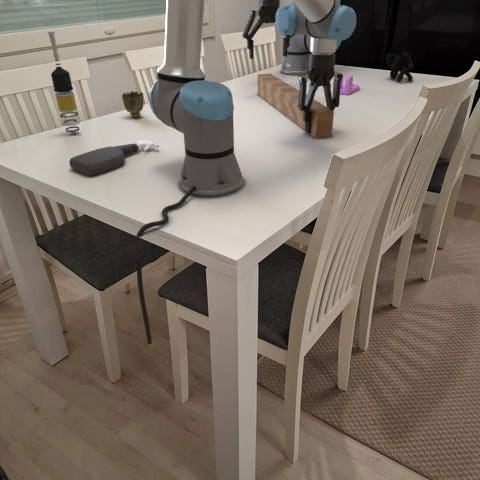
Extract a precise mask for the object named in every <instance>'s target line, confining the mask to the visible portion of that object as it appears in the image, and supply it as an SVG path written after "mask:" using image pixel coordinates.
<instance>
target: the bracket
mask: <svg viewBox="0 0 480 480" xmlns="http://www.w3.org/2000/svg"><path fill="white" fill-rule="evenodd" d="M344 78H345V77H344V76H343V77H342V80H341V85H340V95H346V96H348V95H350V94H352V93H354V92H356V91H358V90H359V89H360V85H359V84H358V83H354V76H353V75H350V74H349V75H346V78H345V84H344Z"/></svg>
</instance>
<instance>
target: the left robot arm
mask: <svg viewBox="0 0 480 480" xmlns="http://www.w3.org/2000/svg"><path fill="white" fill-rule="evenodd" d="M205 1H206V0H166V3H165V27H164V31H165V32H164V53H163V54H164V56H163V64H162V65H161V66H160V67H159V68H157V70H156V71H157V72H156V80H155V82H154V83H153V84H152V86H151V88H150V90H149V95H148V102H149V107H150V110H151V111H152V113H153V115H154V116H155V117H156V118H157V119H158V120H159V121H161V123H162V124H164V125H165V126H167V127H170V128H172V129H174V130H176V131H177V132H180V133H181V134H183V143H184V154H185V155H184V158H183V164H182V168H181V171H180V177H179V178H180V179H179V183H180V184H179V185H180V188H181V189H182V191H184V192H186V193H184V195H183V196H182V197H181V199H180V200H179V201H178V202H176V203H173V204H170V205H167V206H165V207H163V209H161V215H162V217H163V219H161V220H157V221H156V220H155V221H152V222H148V223H145V224H143V225H142V226H141V227H140V229H139V230H138V231H137V233H136V238H140V237H142V236H143V234H144V233H145V231H147V230H148V229H150V228H155V227H159V226H163V225H165V224H166V223H168V222H169V215H168V211H171V210H175V209H177V208H179V207H181V206H182V205H184V203H185V202H186V201H187V199H189V197H190V196H191V195H194V196H199V197H221V196H224V195H229V194H232V193H234V192H235V191H237V190H239V189H240V188H241V187H242V185H243V174H242V171H241V168H240V165H239V163H238V160H237V157H236V154H235V132H234V131H235V130H234V127H235V126H234V110H235V106H234V100H233V98H234V97H233V94H232V91H231V89H230V88H229V87H227V85H225V84H223V83H221V82H218V81H211V80H206V74H205V72H204V71H203V70H202V69H201V53H202V41H203V28H204V13H205ZM291 1H292V2H289V3H284V4H280V7H279V8H278V10H277V13H276V23H275V27H276V29H277V31H278V33H280V34H281V35H283V36H285V35H293V34H301V35H307V36H311V39H310V55H309V70H308V72H307V74H306V75H298V82H299V86H298V87H299V88H298V90H299V99H298V109H300V110H301V111H303V112H304V113H303V121H304V122H305V130H304V132H306V133H307V134H309V133H311V119H312V112H311V111H310V108H311V105H312V102H313V99H314V100H315V96H316V92H317V91H318V88H319V87H320V88H321V87H322V88H323V93H324V99H325V104H326V105H325V106H326V107H328V108H330V109H331V110H333V111H335V109H336V108H338V107H340V100H341V99H340V98H341V94H340V85H341V80H342V77H344V74H342V73H341V72H336V70H335V65H336V54H335V53H336V51H337V50H336V44H337V40H342V41H345V40H348V39H349V38H350V37H351V36H352V34H353V33H354V31H355V29H356V26H357V15H356V12H355V10H354V9H353V8H352V7H350V6H346V5H345V4H342V5H341V0H291ZM332 79H333V81H332ZM308 81H309V82H310V83H309V86H308V87H307V83H308ZM331 81H332V82H333V83H332V85H331ZM307 88H308V91H307ZM331 88H332V89H331ZM306 95H307V97H306ZM305 99H306V101H305ZM142 269H143V267H142V261H141V260H136V279H137V289H138V295H139V302H140V308H141V313H142V319H143V324H144V329H145V335H146V340H147V341H146V342H147V345H151V344H153V341H152V334H151V328H150V327H151V326H150V322H149V316H148V310H147V305H146V298H145V292H144V283H143V271H142Z"/></svg>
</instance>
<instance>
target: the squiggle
mask: <svg viewBox="0 0 480 480" xmlns="http://www.w3.org/2000/svg"><path fill="white" fill-rule="evenodd" d="M401 57H402V59H401ZM391 59H392V60H391ZM393 60H394V61H393ZM385 61H386V64H387V67H390V68H391V70H390V72H389V78H390V79H391V80H395V79H396V81H397V82H399V83H400V82H402V81H403V79H404V76H406V78H407V80H408V81H412V80H413V79H414V77H413V75H412V74H411V73H410V72H409V71H410V70H412V69H413V68H414V64H413V61H412V57H411V54H410V53H409V52H408V51H403V53H402V54H401V55H396V54H394V53H392V52H390V53H387V55H386V57H385ZM406 62H407V65H408V66H407V67H405V66H404V65H405V64H406ZM400 70H401V71H400Z"/></svg>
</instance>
